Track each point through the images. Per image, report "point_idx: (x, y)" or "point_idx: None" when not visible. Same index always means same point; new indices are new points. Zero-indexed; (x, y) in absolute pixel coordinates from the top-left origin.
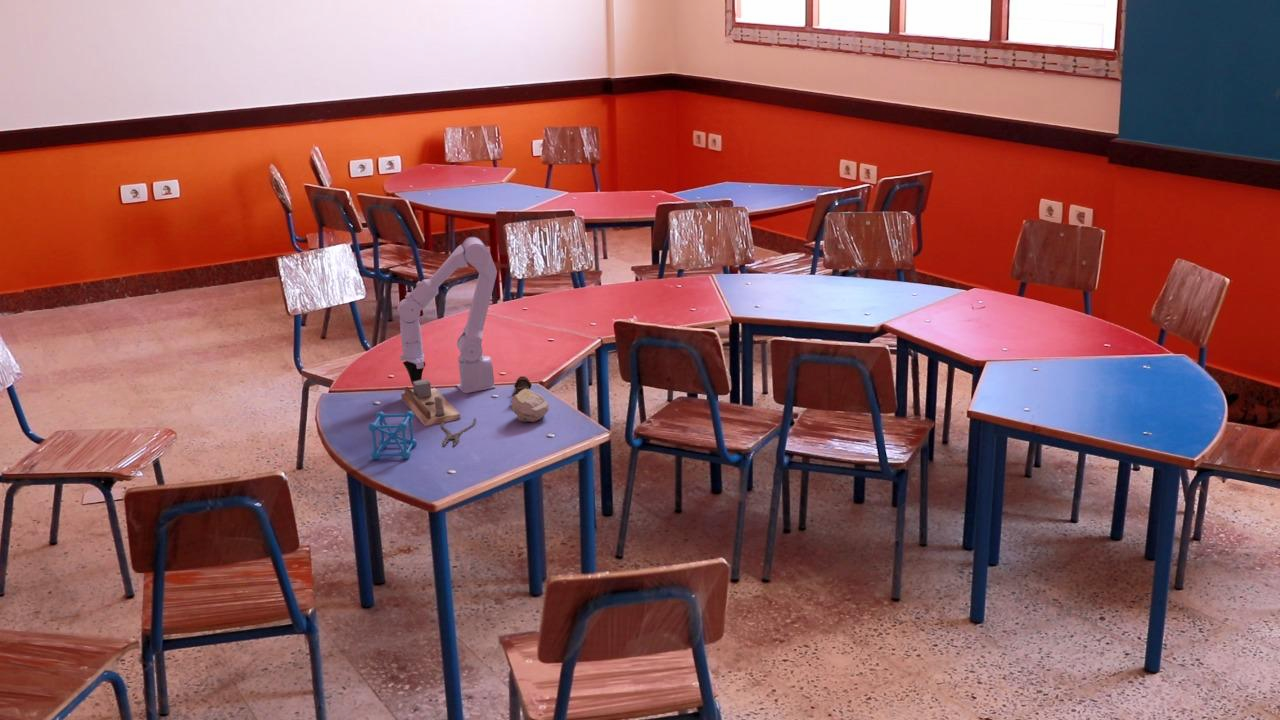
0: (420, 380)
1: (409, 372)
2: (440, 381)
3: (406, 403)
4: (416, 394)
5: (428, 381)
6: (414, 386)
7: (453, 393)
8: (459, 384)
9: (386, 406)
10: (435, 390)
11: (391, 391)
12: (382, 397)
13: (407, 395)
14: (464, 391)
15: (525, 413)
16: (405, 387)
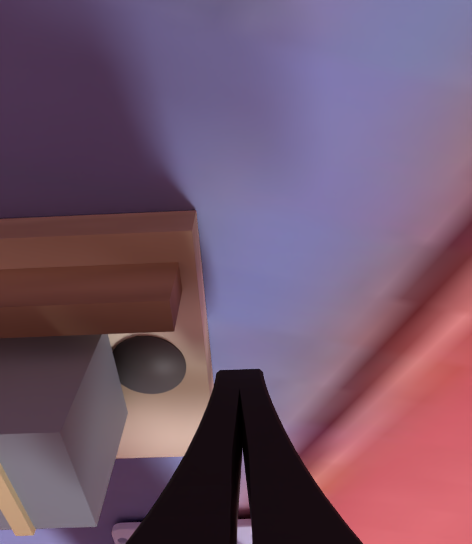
0: (56, 488)
1: (177, 504)
2: (399, 475)
3: (22, 222)
4: (2, 347)
5: (2, 527)
6: (17, 397)
7: (152, 486)
8: (250, 534)
9: (35, 15)
10: (155, 449)
11: (456, 169)
12: (347, 38)
13: (78, 273)
14: (122, 532)
15: None
16: (164, 310)
